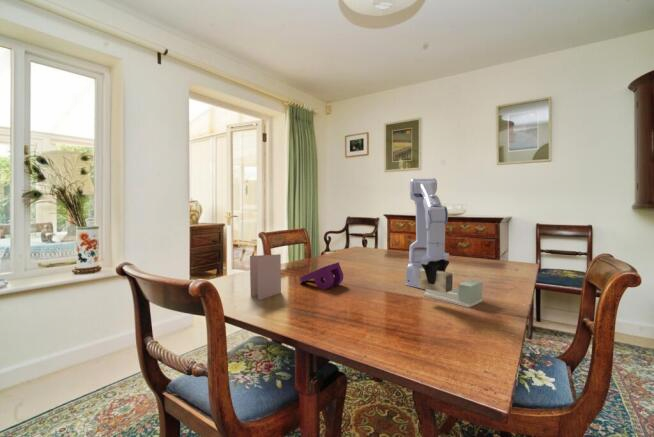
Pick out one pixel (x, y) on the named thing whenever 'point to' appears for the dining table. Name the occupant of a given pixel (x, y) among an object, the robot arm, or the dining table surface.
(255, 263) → the greeting card
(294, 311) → the dining table surface
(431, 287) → the beige and brown block
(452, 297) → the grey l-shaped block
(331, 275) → the mounting bracket
